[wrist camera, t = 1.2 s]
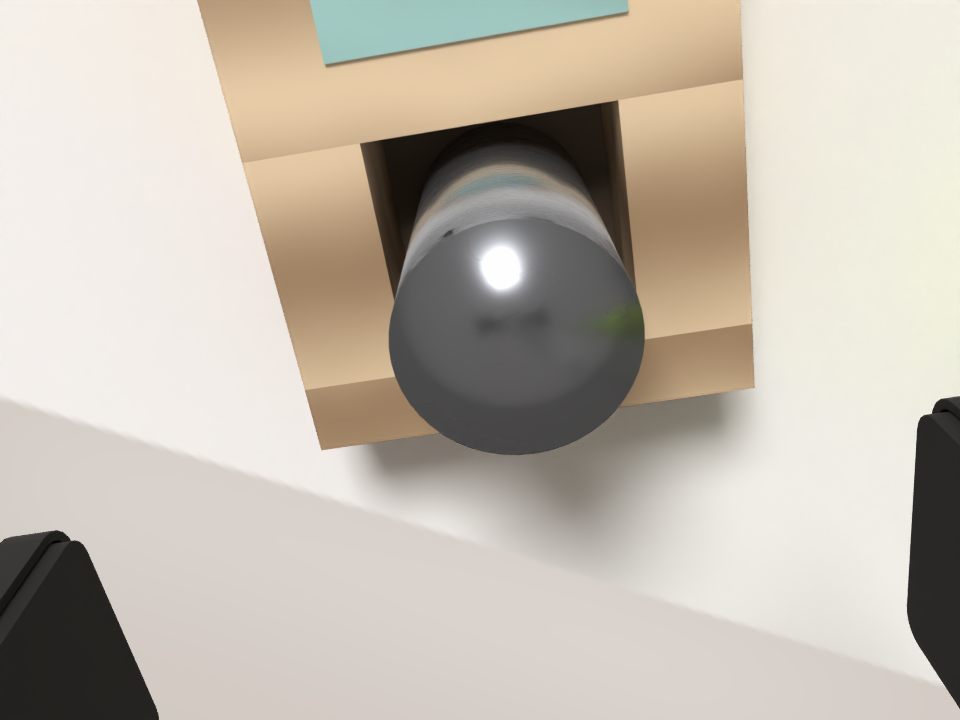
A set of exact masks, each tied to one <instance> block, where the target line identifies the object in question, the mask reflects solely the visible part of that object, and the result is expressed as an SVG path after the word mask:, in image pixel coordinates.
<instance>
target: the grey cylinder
mask: <svg viewBox="0 0 960 720" xmlns="http://www.w3.org/2000/svg"><path fill="white" fill-rule="evenodd" d="M644 344H645V325H644V318H643V312H642V308H641V305H640V302H639V299H638V295H637V293H636V291H635V289H634V287H633V285H632V282H631V280H630V278H629V276H628V274H627V272H626V270H625V268H624V265H623V263H622V261H621V259H620V257H619V255H618V253H617V251H616V248H615V246H614V244H613V242H612V240H611V238H610V236H609V234H608V231H607V229H606V227H605V225H604V223H603V221H602V219H601V216H600V214H599V212H598V210H597V208H596V206H595V204H594V202H593V199H592V197H591V195H590V193H589V191H588V189H587V187H586V185H585V182H584V180H583V178H582V176H581V174H580V172H579V170H578V168H577V166H576V164H575V162H574V161H573V159H572V158H571V156H570V155H569V153H568V152H567V151H566V150H565V149H564V148H563V147H562V146H561V145H560V144H559V143H558V142H557V141H556V140H554V139H553V138H552V137H550V136H548V135H547V134H545V133H544V132H541V131H539V130H537V129H535V128H532V127H529V126H526V125H521V124H516V123H493V124H487V125H483V126H479V127H477V128H474V129H471V130H469V131H467V132H465V133H463V134H462V135H460V136H458V137H457V138H456V139H454V140H453V141H451V142H450V143H449V144H448V145H447V146H446V147H445V148H444V149H443V150H442V151H441V152H440V154H439V155H438V156H437V157H436V159H435V160H434V162H433V164H432V165H431V167H430V169H429V171H428V174H427V176H426V179H425V182H424V186H423V190H422V194H421V198H420V202H419V206H418V210H417V214H416V218H415V222H414V226H413V230H412V234H411V238H410V242H409V246H408V250H407V254H406V258H405V262H404V266H403V270H402V274H401V278H400V282H399V286H398V290H397V294H396V298H395V302H394V306H393V310H392V314H391V318H390V325H389V353H390V360H391V365H392V368H393V371H394V375H395V378H396V380H397V382H398V384H399V386H400V389H401V391H402V393H403V394H404V396H405V397H406V399H407V400H408V402H409V404H410V405H411V406H412V407H413V408H414V410H415V411H416V412H417V413H418V414H419V416H420V417H422V418H423V419H424V420H425V421H426V422H427V423H428V424H429V425H430V426H431V427H433V428H434V429H436V430H437V431H438V432H440V433H441V434H443V435H444V436H446V437H448V438H450V439H452V440H454V441H455V442H457V443H460V444H462V445H465V446H467V447H470V448H473V449H477V450H480V451H484V452H489V453H496V454H504V455H523V454H534V453H540V452H545V451H550V450H553V449H556V448H559V447H562V446H565V445H567V444H569V443H572V442H574V441H576V440H578V439H580V438H582V437H583V436H585V435H587V434H588V433H590V432H592V431H593V430H594V429H596V428H597V427H598V426H600V425H601V424H602V423H603V422H605V421H606V420H607V419H608V418H609V417H610V416H611V415H612V414H613V413H614V412H615V411H616V409H617V408H618V407H619V406H620V404H621V403H622V402H623V400H624V399H625V398H626V396H627V394H628V393H629V391H630V389H631V388H632V386H633V384H634V382H635V379H636V377H637V374H638V372H639V369H640V365H641V362H642V358H643V352H644Z"/></svg>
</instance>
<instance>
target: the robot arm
mask: <svg viewBox="0 0 960 720" xmlns="http://www.w3.org/2000/svg"><path fill="white" fill-rule="evenodd" d="M907 615H908V621H909V624H910V628H911V631H912V633H913V636H914V638H915V640H916V642H917V644H918V645H919V647H920V648H921V650H922V651H923V653H924V654H925V656H926V658H927V659H928V661H929V662H930V664H931V665H932V667H933V668H934V670H935V671H936V673H937V674H938V676H939V678H940V679H941V681H942V682H943V684H944V685H945V687H946V688H947V690H948V691H949V693H950V694H951V696H952V697H953V699H954V700H955V702H956V704H957V705H958V707H959V708H960V396H958V397H952V398H945V399H940V400H939V401H938V402H936V404H935V406H934V408H933V411H932V414H929V415H924V416H922V417H921V418H920V420H919V422H918V428H917V442H916V459H915V476H914V494H913V511H912V528H911V545H910V563H909V580H908V597H907ZM0 720H159V716H158V712H157V709H156V706H155V704H154V702H153V700H152V697H151V695H150V693H149V691H148V688H147V686H146V684H145V681H144V679H143V677H142V675H141V672H140V670H139V668H138V665H137V663H136V661H135V659H134V656H133V654H132V652H131V649H130V647H129V645H128V643H127V640H126V638H125V636H124V634H123V631H122V629H121V627H120V624H119V622H118V620H117V618H116V615H115V613H114V611H113V609H112V606H111V604H110V602H109V600H108V597H107V595H106V593H105V590H104V588H103V586H102V584H101V581H100V579H99V577H98V574H97V572H96V570H95V568H94V565H93V563H92V561H91V559H90V556H89V554H88V552H87V550H86V548H85V547H84V545H83V544H82V543H80V542H79V541H71V540H70V538H69V537H68V536H67V535H66V534H64V533H63V532H60V531H57V530H55V531H48V532H42V533H35V534H29V535H22V536H15V537H10V538H6V539H4V540H3V541H2V542H1V543H0Z"/></svg>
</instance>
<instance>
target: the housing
mask: <svg viewBox="0 0 960 720" xmlns="http://www.w3.org/2000/svg"><path fill="white" fill-rule="evenodd" d="M197 1H198V5H199V8H200V12H201V16H202V19H203V23H204V26H205V30H206V34H207V37H208V41H209V45H210V48H211V52H212V55H213V59H214V63H215V66H216V70H217V74H218V77H219V81H220V84H221V88H222V92H223V95H224V99H225V102H226V106H227V110H228V113H229V117H230V121H231V124H232V128H233V131H234V135H235V139H236V142H237V146H238V150H239V153H240V157H241V160H242V164H243V168H244V171H245V175H246V179H247V182H248V186H249V189H250V193H251V197H252V200H253V204H254V207H255V211H256V215H257V218H258V222H259V226H260V229H261V233H262V236H263V240H264V244H265V247H266V251H267V255H268V258H269V262H270V265H271V269H272V273H273V276H274V280H275V284H276V287H277V291H278V294H279V298H280V302H281V305H282V309H283V312H284V316H285V320H286V323H287V327H288V331H289V334H290V338H291V341H292V345H293V349H294V352H295V356H296V360H297V363H298V367H299V370H300V374H301V378H302V381H303V385H304V388H305V392H306V396H307V399H308V403H309V407H310V410H311V414H312V417H313V421H314V425H315V428H316V432H317V436H318V439H319V443H320V446H321V450H326V449H333V448H340V447H347V446H354V445H361V444H368V443H375V442H382V441H389V440H395V439H402V438H409V437H416V436H423V435H430V434H437V433H440V432H438V431H437V430H436V429H434V428H433V427H431V426H430V425H429V424H428V423H427V422H426V421H425V420H424V419H423V418H422V417H420V416H419V414H418V413H417V412H416V411H415V410H414V408H413V407H412V406H411V405H410V404H409V402H408V400H407V399H406V397H405V396H404V394H403V393H402V391H401V389H400V386H399V384H398V382H397V380H396V378H395V375H394V371H393V368H392V365H391V360H390V353H389V325H390V318H391V314H392V310H393V306H394V302H395V298H396V294H397V290H398V286H399V282H400V278H401V274H402V270H403V266H404V262H405V258H406V254H407V250H408V246H409V242H410V238H411V234H412V230H413V226H414V222H415V218H416V214H417V210H418V206H419V202H420V198H421V194H422V190H423V186H424V182H425V179H426V176H427V174H428V171H429V169H430V167H431V165H432V164H433V162H434V160H435V159H436V157H437V156H438V155H439V154H440V152H441V151H442V150H443V149H444V148H445V147H446V146H447V145H448V144H449V143H450V142H451V141H453V140H454V139H456V138H457V137H458V136H460V135H462V134H463V133H465V132H467V131H469V130H471V129H474V128H477V127H479V126H483V125H487V124H493V123H516V124H521V125H526V126H529V127H532V128H535V129H537V130H539V131H541V132H544V133H545V134H547V135H548V136H550V137H552V138H553V139H554V140H556V141H557V142H558V143H559V144H560V145H561V146H562V147H563V148H564V149H565V150H566V151H567V152H568V153H569V155H570V156H571V158H572V159H573V161H574V162H575V164H576V166H577V168H578V170H579V172H580V174H581V176H582V178H583V180H584V182H585V185H586V187H587V189H588V191H589V193H590V195H591V197H592V199H593V202H594V204H595V206H596V208H597V210H598V212H599V214H600V216H601V219H602V221H603V223H604V225H605V227H606V229H607V231H608V234H609V236H610V238H611V240H612V242H613V244H614V246H615V248H616V251H617V253H618V255H619V257H620V259H621V261H622V263H623V265H624V268H625V270H626V272H627V274H628V276H629V278H630V280H631V282H632V285H633V287H634V289H635V291H636V293H637V295H638V299H639V302H640V305H641V308H642V312H643V318H644V325H645V344H644V352H643V358H642V362H641V365H640V369H639V372H638V374H637V377H636V379H635V382H634V384H633V386H632V388H631V389H630V391H629V393H628V394H627V396H626V398H625V399H624V400H623V402H622V403H621V404H620V406H619V407H625V406H632V405H639V404H646V403H653V402H659V401H666V400H673V399H680V398H687V397H694V396H701V395H708V394H715V393H722V392H729V391H736V390H743V389H750V388H754V362H753V335H752V308H751V281H750V254H749V228H748V201H747V174H746V147H745V120H744V94H743V67H742V40H741V13H740V0H197Z"/></svg>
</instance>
